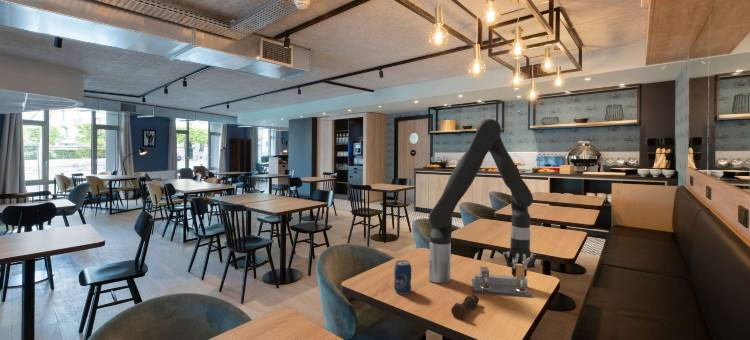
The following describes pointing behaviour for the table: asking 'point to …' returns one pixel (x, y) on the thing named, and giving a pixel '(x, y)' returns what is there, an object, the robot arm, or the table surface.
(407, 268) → the soda can
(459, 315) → the dark brown lobed piece
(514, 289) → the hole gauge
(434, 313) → the table surface
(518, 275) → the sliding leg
